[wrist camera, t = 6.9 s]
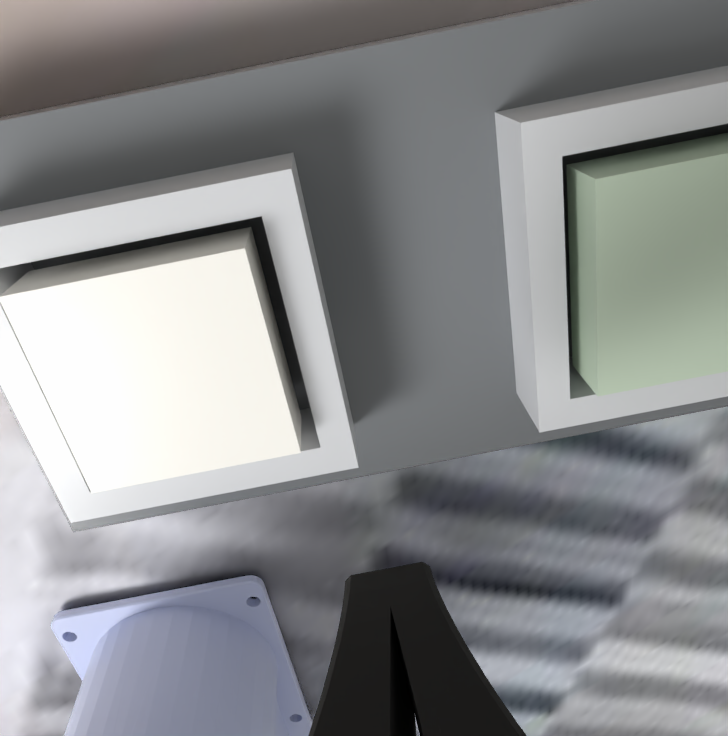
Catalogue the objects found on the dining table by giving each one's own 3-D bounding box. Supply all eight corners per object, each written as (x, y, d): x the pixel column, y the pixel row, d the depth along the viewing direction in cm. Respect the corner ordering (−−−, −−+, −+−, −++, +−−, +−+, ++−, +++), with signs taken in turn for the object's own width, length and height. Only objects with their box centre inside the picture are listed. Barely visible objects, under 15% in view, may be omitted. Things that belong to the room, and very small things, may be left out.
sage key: (768, 327, 16) (812, 354, 15) (572, 365, 16) (597, 396, 15) (794, 119, 14) (849, 128, 13) (566, 164, 14) (595, 179, 13)
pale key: (301, 416, 16) (300, 452, 15) (110, 453, 17) (91, 493, 15) (250, 226, 14) (244, 248, 13) (28, 271, 14) (-2, 296, 13)
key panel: (754, 344, 21) (872, 425, 17) (102, 471, 22) (49, 583, 17) (800, -45, 16) (985, -76, 12) (-55, 128, 16) (-188, 162, 12)
